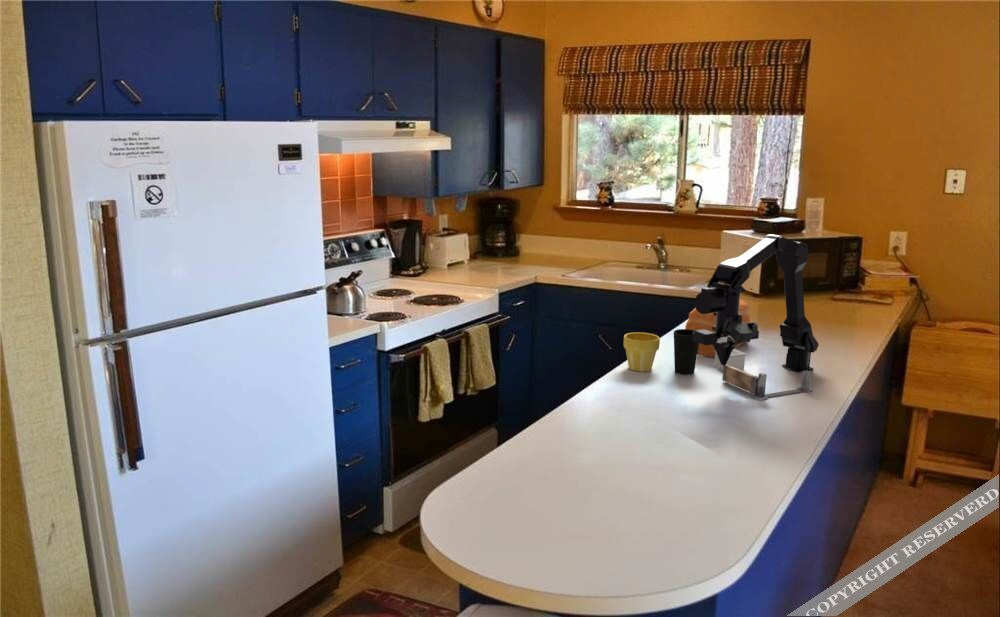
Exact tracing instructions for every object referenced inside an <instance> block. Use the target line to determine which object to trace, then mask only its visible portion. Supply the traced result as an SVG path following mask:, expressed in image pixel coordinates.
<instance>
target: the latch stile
mask: <svg viewBox="0 0 1000 617" xmlns="http://www.w3.org/2000/svg"><path fill="white" fill-rule="evenodd" d="M811 373H812V371H811V370H809V371H808V370H805V371H802V378H801V385H800V386H801V387H796V389H798V390H801V391H802V392H801V393H811V392H814V389H812V388H810V381H811Z"/></svg>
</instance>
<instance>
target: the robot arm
mask: <svg viewBox="0 0 1000 617" xmlns="http://www.w3.org/2000/svg"><path fill="white" fill-rule="evenodd" d="M774 254H775V257H776V261H777V265H778V266H779V267H780V268H781V270H782V271H783V283H784V298H785V310H786V318H785V319H784V320H783V322H782V323H781V324H779V330H780V333H779V336H780V337H781V341H782V346H783V347H787V353H786V355H785V356H786V357H785V358H786V359H785V363H784V364H782V365H781V366H782V367H783V368H786V369H788V370H791V371H793V372H796V373H803V371H805V370H808V371H814V367H811V356H812V353H815V352H817V351H818V348H819V346H820V345H819V342H818V341H817V340H816V337H815V336H814V334H813V329H812V325H811V322H810V321H809V320H808V318H807V317H806V314H805V300H804V281H803V280H804V278H803V269H804V268H805V266H806V264H807V263H808V254H809V249H808V245H807V244H805V242H801V241H798V240H797V241H796V240H792V239H788V238H786V237H784V236H783V235H778V234H772V233H771V234H770V233H769V234H767V235H765V236H764V237H763V239H762V240H760V241H759V242H757V243H756V244H754V246H751V248H749V249H748V250H746V251H745V252H743V253H742V254H741V255H739V256H737V257H733V258H729V259H726V260H725V261H723V262H720V263H719V264H718V265H717V267H716V269H715V271H713V273H712V276H711V278H710V279H709V281H708V283H707V285H706V287H702V288H701V289H700V292H699V293H698V294H697V295H696V296H695V299H694V301H693V302H694V308H696V310H697V311H698V312H699V313H701V314H708V313H713V315H714V316H716V326H712V330H714V331H715V332H711V331H708V330H705V329H704V330H695V331H694V332H693V334H692V340H693V341H695V342H698V343H700V344H703V345H713V346H714V348H715V350H716V353H717V355H718V358H719V360H720V363H721V365H726V363H727V361H728V359H729V357H730V355H731V352H732V351H733V349H734V347H735V346H737V345H738V344H740V343H742V342H744V343H746V342H747V343H750V342H751V340H757V339H759V336H760V332H759V328H758V327H759V326H758V324H757V323H756V322H754V321H753V322H750V323H749V324H748V323H743V322H742V315H741V314H739V302H740V299H741V294H742V293H746V291H747V290H746V289H745V288H744V286H743V284H745V283H746V281H747V280H749V278H750V276H751V272H752V271H753V270H754V269H756V268H757V267H758V266H759V265H760V264H763V263H764V262H765V261H766V260H768V259H769V258H770V257H772V256H773V255H774ZM721 334H722V335H721Z"/></svg>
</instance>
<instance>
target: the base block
mask: <svg viewBox="0 0 1000 617" xmlns="http://www.w3.org/2000/svg"><path fill="white" fill-rule="evenodd" d="M715 352H716V350H715ZM746 357H747V353H745V352H743V351H740V350H738V349H733V351H732V352H731V355H730V357H729V359H728V361H727V363H726V364H729V365H731V366H732V367H735V368H737V369H739V370H742V371H744V369H745V360H746ZM714 367H715V368H718V369H721V370H722V371H723V365H721V363H720V360H719V358H718V355H717V353H716V354H715V357H714Z"/></svg>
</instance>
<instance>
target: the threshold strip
mask: <svg viewBox="0 0 1000 617" xmlns="http://www.w3.org/2000/svg"><path fill="white" fill-rule="evenodd" d="M801 393H803V392H802V391H801V390H798V389H797V388H796V389H790V390H789V389H788V390H783V391H777V392H770V393H765V395H766V396H767V397H768V399H770V398H776V397H783V396H787V395H788V396H790V395H795V394H801Z"/></svg>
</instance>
